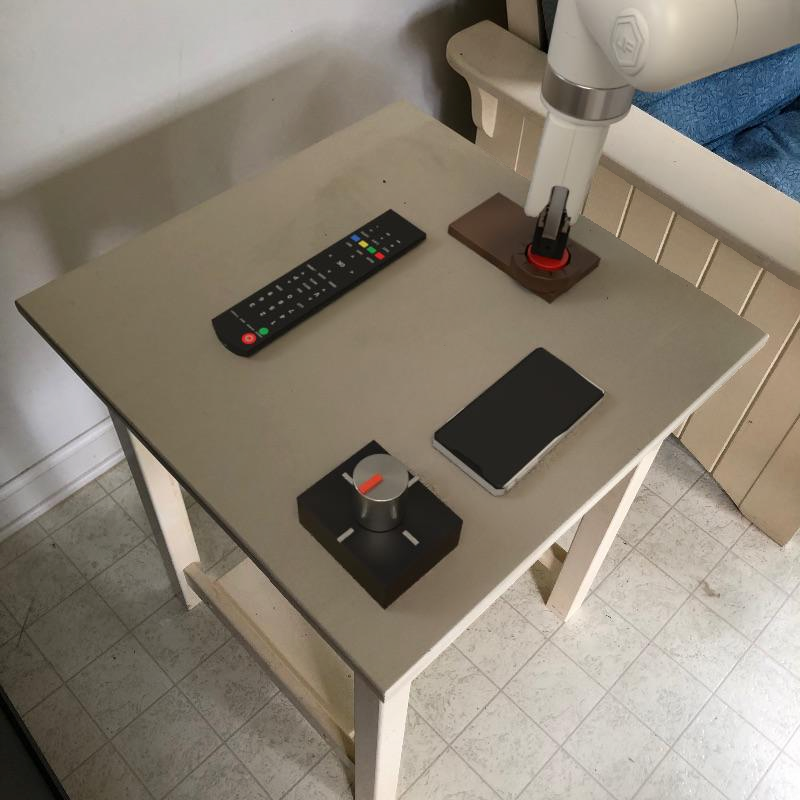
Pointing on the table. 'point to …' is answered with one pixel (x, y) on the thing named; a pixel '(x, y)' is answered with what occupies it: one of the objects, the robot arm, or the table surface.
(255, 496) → the table surface
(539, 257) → the light button
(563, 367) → the smartphone
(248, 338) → the remote control
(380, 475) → the dimmer knob
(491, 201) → the switch block
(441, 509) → the dimmer panel
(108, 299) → the table surface
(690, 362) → the table surface
